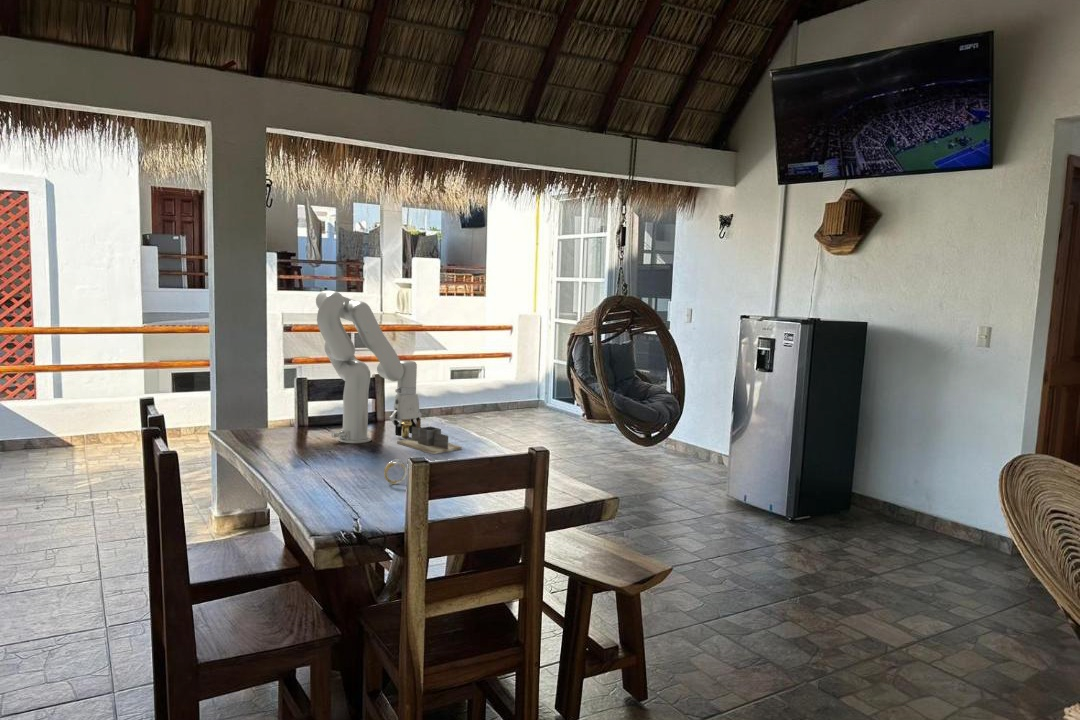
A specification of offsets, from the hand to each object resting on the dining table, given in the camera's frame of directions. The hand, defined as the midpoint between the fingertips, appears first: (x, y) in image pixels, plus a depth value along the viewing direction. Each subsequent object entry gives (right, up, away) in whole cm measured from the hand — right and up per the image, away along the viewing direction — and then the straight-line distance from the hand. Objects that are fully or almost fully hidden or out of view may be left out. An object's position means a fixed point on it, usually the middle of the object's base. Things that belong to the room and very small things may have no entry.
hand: (405, 434), depth 296 cm
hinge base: (+12, -3, -15) cm, 19 cm away
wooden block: (-2, +1, +19) cm, 19 cm away
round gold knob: (0, -1, 0) cm, 1 cm away
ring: (+10, -9, -69) cm, 70 cm away
